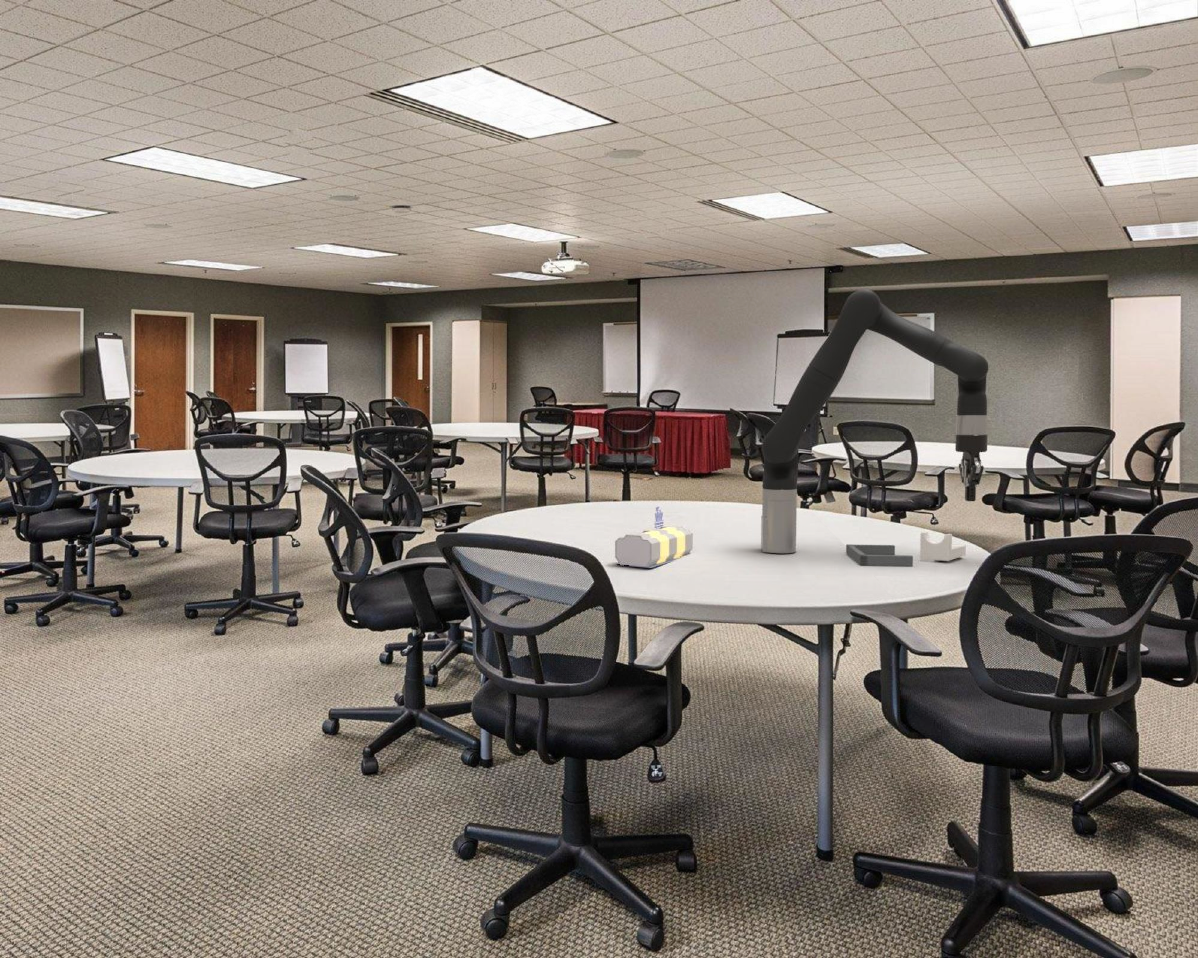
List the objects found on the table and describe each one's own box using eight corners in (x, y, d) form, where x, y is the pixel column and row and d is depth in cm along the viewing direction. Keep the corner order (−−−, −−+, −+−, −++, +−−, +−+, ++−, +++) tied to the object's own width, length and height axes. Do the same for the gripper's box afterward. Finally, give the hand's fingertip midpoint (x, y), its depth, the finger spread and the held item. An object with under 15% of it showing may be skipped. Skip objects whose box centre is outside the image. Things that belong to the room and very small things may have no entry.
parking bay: (860, 565, 225) (861, 555, 225) (846, 553, 246) (846, 544, 246) (912, 566, 224) (912, 556, 224) (893, 554, 245) (893, 545, 245)
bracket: (947, 564, 229) (948, 534, 228) (920, 561, 233) (920, 532, 233) (965, 558, 239) (966, 530, 238) (938, 556, 243) (939, 528, 243)
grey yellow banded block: (658, 552, 250) (658, 505, 250) (692, 555, 245) (693, 507, 245) (615, 564, 229) (615, 513, 228) (651, 567, 224) (651, 515, 223)
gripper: (948, 433, 238) (947, 498, 239) (964, 433, 225) (962, 503, 226) (978, 433, 237) (977, 499, 238) (995, 433, 224) (994, 503, 225)
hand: (970, 500), depth 232 cm, fingers closed
